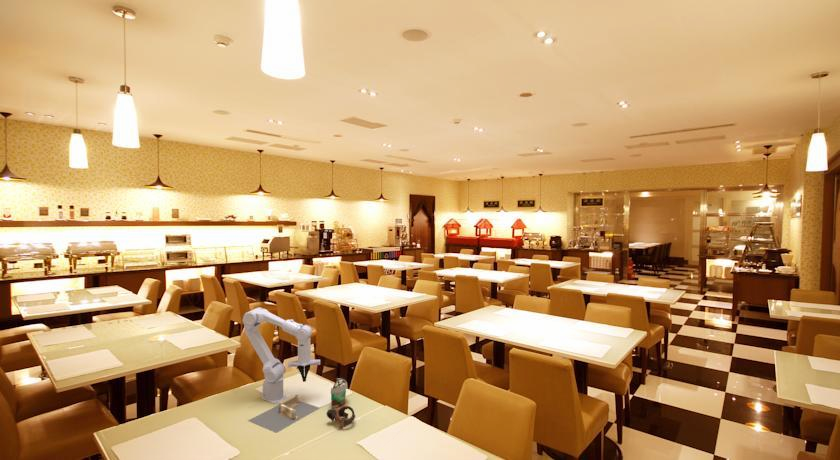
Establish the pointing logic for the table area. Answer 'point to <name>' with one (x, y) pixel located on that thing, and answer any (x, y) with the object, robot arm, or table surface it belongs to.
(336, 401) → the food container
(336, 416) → the pottery mug
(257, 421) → the mat
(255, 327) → the robot arm
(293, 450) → the table surface
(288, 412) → the bar
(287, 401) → the fixed fence section
